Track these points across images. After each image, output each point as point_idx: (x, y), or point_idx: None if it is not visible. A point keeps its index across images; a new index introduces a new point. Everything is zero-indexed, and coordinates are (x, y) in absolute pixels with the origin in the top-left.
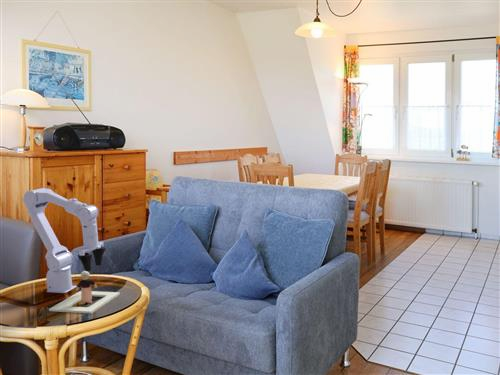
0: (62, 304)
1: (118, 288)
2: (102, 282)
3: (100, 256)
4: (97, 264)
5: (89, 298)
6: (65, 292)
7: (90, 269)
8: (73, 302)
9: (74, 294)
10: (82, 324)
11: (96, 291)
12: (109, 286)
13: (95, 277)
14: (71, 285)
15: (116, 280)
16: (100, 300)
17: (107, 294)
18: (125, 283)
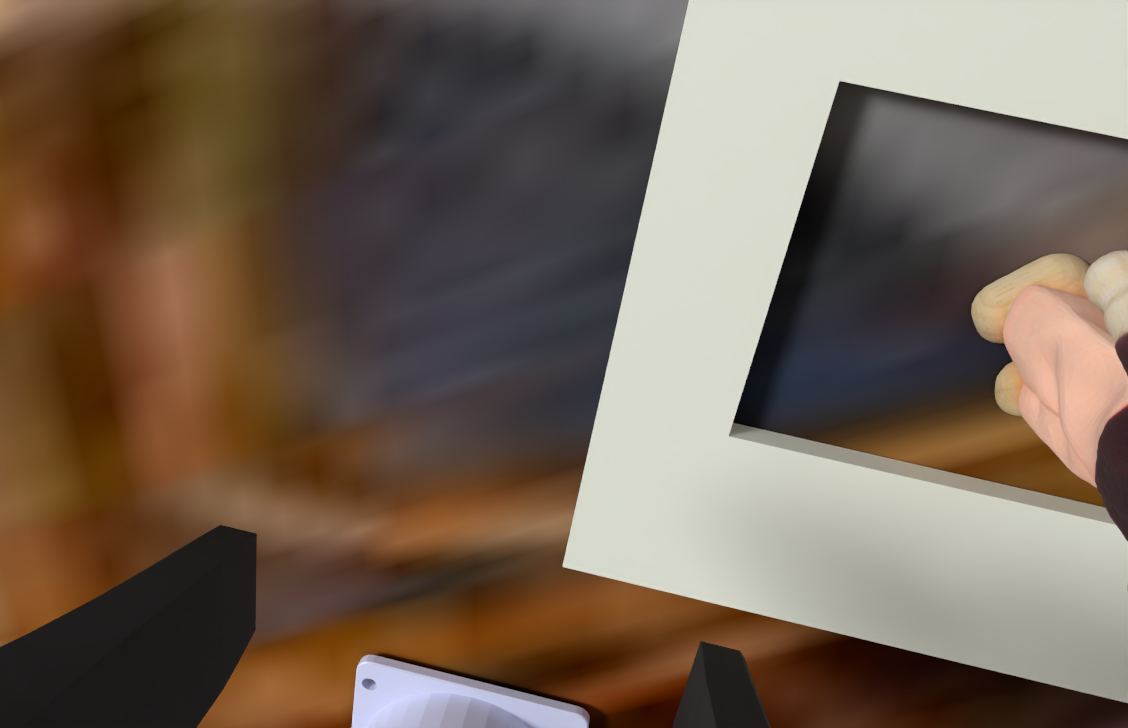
0: (1121, 632)
1: (391, 39)
2: (160, 402)
3: (70, 712)
4: (242, 614)
5: None
6: (585, 714)
7: (719, 665)
8: (1081, 519)
9: (715, 600)
10: None
11: (617, 343)
12: (308, 239)
13: (5, 548)
14: (435, 720)
15: (41, 224)
16: (1126, 108)
17: (802, 92)
18: (140, 2)
